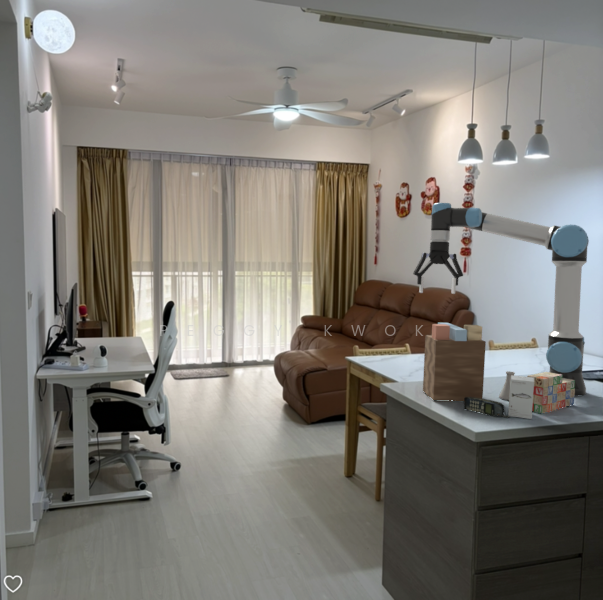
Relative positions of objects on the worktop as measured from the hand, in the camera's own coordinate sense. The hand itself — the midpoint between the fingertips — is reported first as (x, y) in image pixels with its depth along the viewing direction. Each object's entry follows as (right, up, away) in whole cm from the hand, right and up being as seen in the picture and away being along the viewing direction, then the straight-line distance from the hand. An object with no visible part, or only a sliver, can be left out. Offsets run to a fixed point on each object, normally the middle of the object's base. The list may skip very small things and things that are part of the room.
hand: (437, 293), depth 232 cm
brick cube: (-5, -17, -26) cm, 32 cm away
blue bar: (0, -17, -20) cm, 26 cm away
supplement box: (+17, -41, -45) cm, 63 cm away
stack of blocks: (+32, -41, -34) cm, 62 cm away
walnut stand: (0, -39, -22) cm, 45 cm away
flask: (+21, -40, -23) cm, 50 cm away
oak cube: (+7, -17, -26) cm, 32 cm away
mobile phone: (+6, -41, -44) cm, 60 cm away
